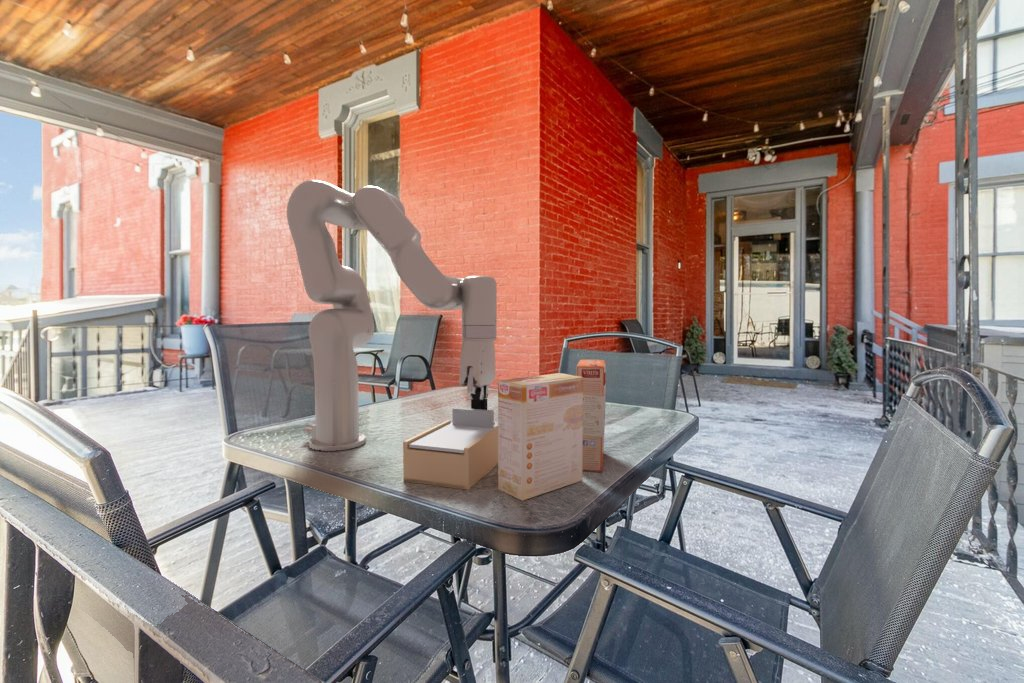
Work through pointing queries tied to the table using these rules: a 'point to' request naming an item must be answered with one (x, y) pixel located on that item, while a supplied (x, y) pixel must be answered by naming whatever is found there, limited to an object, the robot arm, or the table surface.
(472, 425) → the lid
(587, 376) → the cracker box
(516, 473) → the coffeecake box
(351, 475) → the table surface
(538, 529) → the table surface
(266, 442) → the table surface
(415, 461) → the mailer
